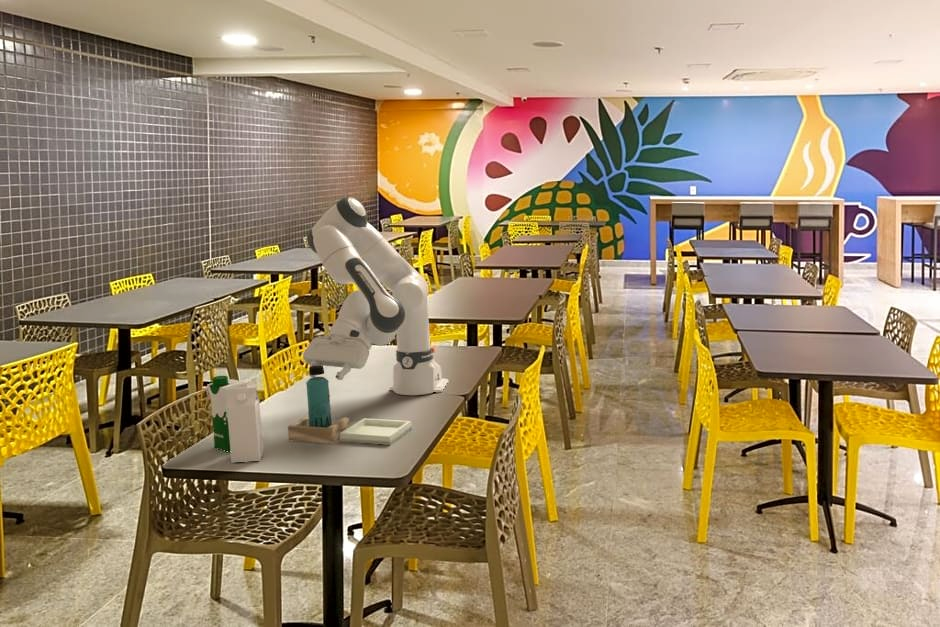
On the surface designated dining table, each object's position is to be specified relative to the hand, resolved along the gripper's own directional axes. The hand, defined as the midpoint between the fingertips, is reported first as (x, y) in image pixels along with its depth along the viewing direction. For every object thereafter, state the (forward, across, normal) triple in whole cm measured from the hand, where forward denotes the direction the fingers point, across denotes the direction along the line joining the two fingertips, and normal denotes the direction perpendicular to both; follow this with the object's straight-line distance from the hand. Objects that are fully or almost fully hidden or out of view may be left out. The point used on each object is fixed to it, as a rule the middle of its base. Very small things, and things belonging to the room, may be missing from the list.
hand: (325, 377), depth 249 cm
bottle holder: (+14, +1, +8) cm, 16 cm away
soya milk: (+27, -16, -4) cm, 32 cm away
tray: (+10, +16, +12) cm, 22 cm away
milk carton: (+32, -5, -9) cm, 33 cm away
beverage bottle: (+14, +1, +8) cm, 17 cm away
